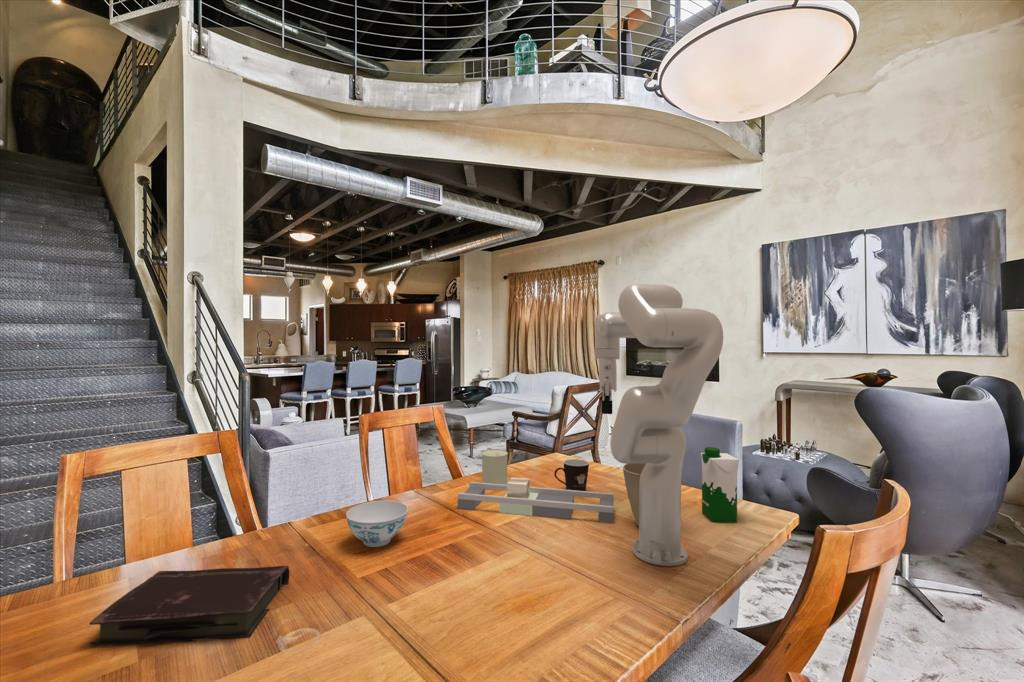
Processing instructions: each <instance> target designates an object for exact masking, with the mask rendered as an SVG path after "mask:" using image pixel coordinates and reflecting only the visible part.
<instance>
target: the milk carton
mask: <svg viewBox="0 0 1024 682" xmlns="http://www.w3.org/2000/svg"><path fill="white" fill-rule="evenodd" d="M700 460H701V513H702V514H703V515H704V516H705V517H706V518H707V519H708V520H709V521H710V522H711V523H738V469H739V460H740V459H738V458H737V457H734V456H732V455H731V454H728V453H727V452H725V453H724V452H723V453H722V452H721V449H720V448H718V447H712V446H708V447H704V452H700Z"/></svg>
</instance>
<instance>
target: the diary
mask: <svg viewBox="0 0 1024 682" xmlns="http://www.w3.org/2000/svg"><path fill="white" fill-rule="evenodd" d="M289 581H290V567H289V565H277V566H262V567H260V566H259V567H241V568H240V567H236V568H235V567H227V568H212V569H211V568H210V569H198V570H159V571H157V572H155V573H154V574H153V575H152V576H151V577H149V578H148V579H146V580H145V581H143V582H142V583H140V584H139V585H138V586H136V587H134V588H132V589H131V590H129V591H127V593H125V594H124V595H122V596H121V597H120V598H119V599H117V600H116V601H114V602H113V603H112V604H111V605H109V606H107V608H105V609H103V611H102V612H100V613H99V614H98V615H96V616H95V617H94V618H93V619H92V620H91V621H90V622H89V626H91V625H99V637H98V638H97V639H95V640H94V641H91V642H88V645H89V646H92V647H95V648H96V647H98V648H99V647H100V648H101V647H124V646H138V645H141V646H142V645H151V644H153V645H154V644H164V643H190V642H197V640H235V639H236V640H237V639H240V640H241V639H250V638H251V636H252V635H253V634H254V633H255V631H256V630H257V628H258V626H259V625H260V624H261V622H262V621H263V619H264V618H265V617H266V615H267V614H268V612H269V611H270V610H271V609H270V608H267V607H268V606H269V604H270V603H271V602H272V600H273V599H274V597H275V596H276V595H277V594H278V592H279V591H280V590H282V591H283V590H284V589H281V586H284V585H285V586H287V585H289Z"/></svg>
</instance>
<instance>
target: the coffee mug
mask: <svg viewBox="0 0 1024 682" xmlns="http://www.w3.org/2000/svg"><path fill="white" fill-rule="evenodd" d="M562 463H563V467H557V468H556V469H555V471H554V478H556V479H557V481H558V482H560V483H562V484H564V485H565V490H576V491H586V490H587V485H588V484H587V483H588V476H589V475H588V473H589V468H590V467H589V466H590V462H589V461H587V460H585V459H580V458H578V459H577V458H574V459H573V458H572V459H565V460H564V461H563V462H562ZM559 470H562V471H563V472H564V480H565V482H564V481H563V480H561V479H560V478H558V475H557V472H558V471H559Z"/></svg>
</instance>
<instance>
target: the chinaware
mask: <svg viewBox="0 0 1024 682" xmlns="http://www.w3.org/2000/svg"><path fill="white" fill-rule="evenodd" d="M408 512H409V507H408V505H407V504H405V503H403V502H400V501H397V500H396V501H395V500H386V499H385V500H374V501H368V502H363V503H360V504H358V505H355V506H353V507H351V508H349V509H348V510H347V511H346V513H345V517H346V522H347V525H348V527H349V529H350V532H351V533H352V534H353V535H354V536H355V537H356V538H357V539H359V540H360V541H362V542H363V545H364V546H366V547H370V548H380V547H384V546H386V545H388V544H390V542H391V541H392V539H393V537H395V536H396V535H397V534H398V533H399V532H400V531H401V529H402V528H403V527H404V524H405V522H406V520H407V516H408Z"/></svg>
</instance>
